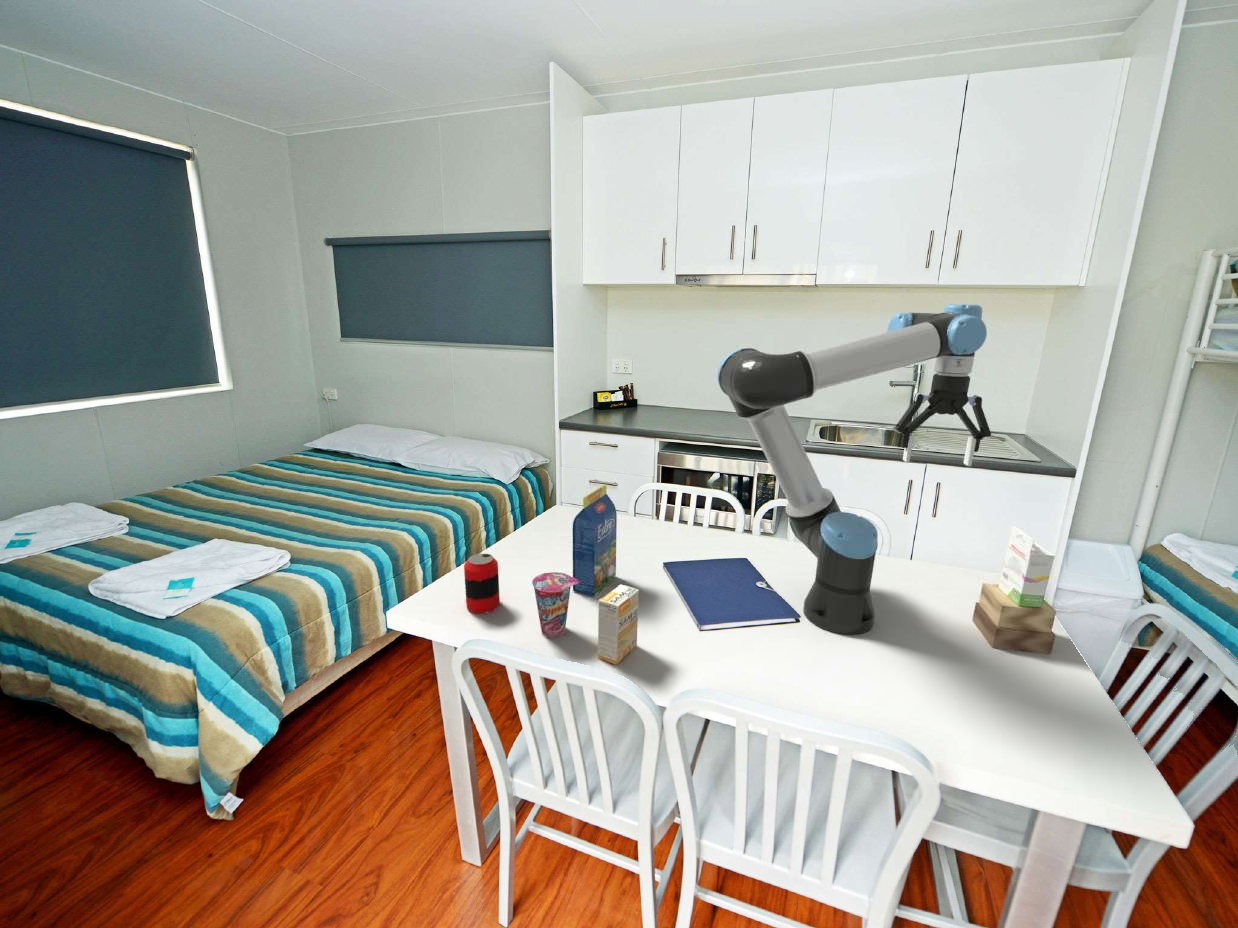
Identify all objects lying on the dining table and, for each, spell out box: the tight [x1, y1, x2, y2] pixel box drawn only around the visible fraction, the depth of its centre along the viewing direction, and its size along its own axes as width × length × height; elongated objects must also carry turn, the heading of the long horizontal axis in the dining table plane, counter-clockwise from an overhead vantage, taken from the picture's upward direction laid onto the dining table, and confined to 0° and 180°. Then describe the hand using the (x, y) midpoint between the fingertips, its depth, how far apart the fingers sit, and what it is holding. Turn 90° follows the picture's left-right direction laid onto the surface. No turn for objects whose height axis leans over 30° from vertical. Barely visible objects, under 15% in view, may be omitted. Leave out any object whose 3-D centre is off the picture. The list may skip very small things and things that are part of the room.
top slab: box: [978, 582, 1057, 633], centre depth 123 cm, size 10×10×5 cm
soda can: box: [463, 553, 501, 615], centre depth 132 cm, size 8×8×12 cm
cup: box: [531, 571, 579, 639], centre depth 123 cm, size 9×8×12 cm
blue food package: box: [572, 483, 618, 597], centre depth 141 cm, size 6×12×25 cm, turn 155°
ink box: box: [998, 525, 1055, 607], centre depth 120 cm, size 9×5×15 cm, turn 172°
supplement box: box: [597, 584, 640, 665], centre depth 116 cm, size 8×5×13 cm, turn 148°
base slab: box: [971, 601, 1057, 656], centre depth 124 cm, size 11×11×5 cm
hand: (936, 462), depth 138 cm, fingers open, 13 cm apart
